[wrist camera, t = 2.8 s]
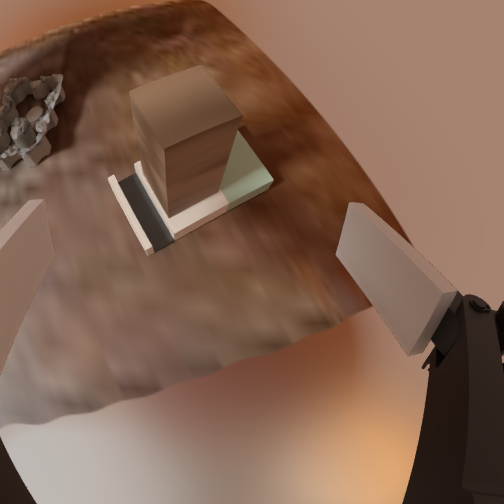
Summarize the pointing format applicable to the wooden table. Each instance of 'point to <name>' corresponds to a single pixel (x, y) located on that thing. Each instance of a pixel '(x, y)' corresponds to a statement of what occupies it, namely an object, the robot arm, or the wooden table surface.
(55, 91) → the egg carton
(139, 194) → the board
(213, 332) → the wooden table surface
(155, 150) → the walnut block
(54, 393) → the wooden table surface
